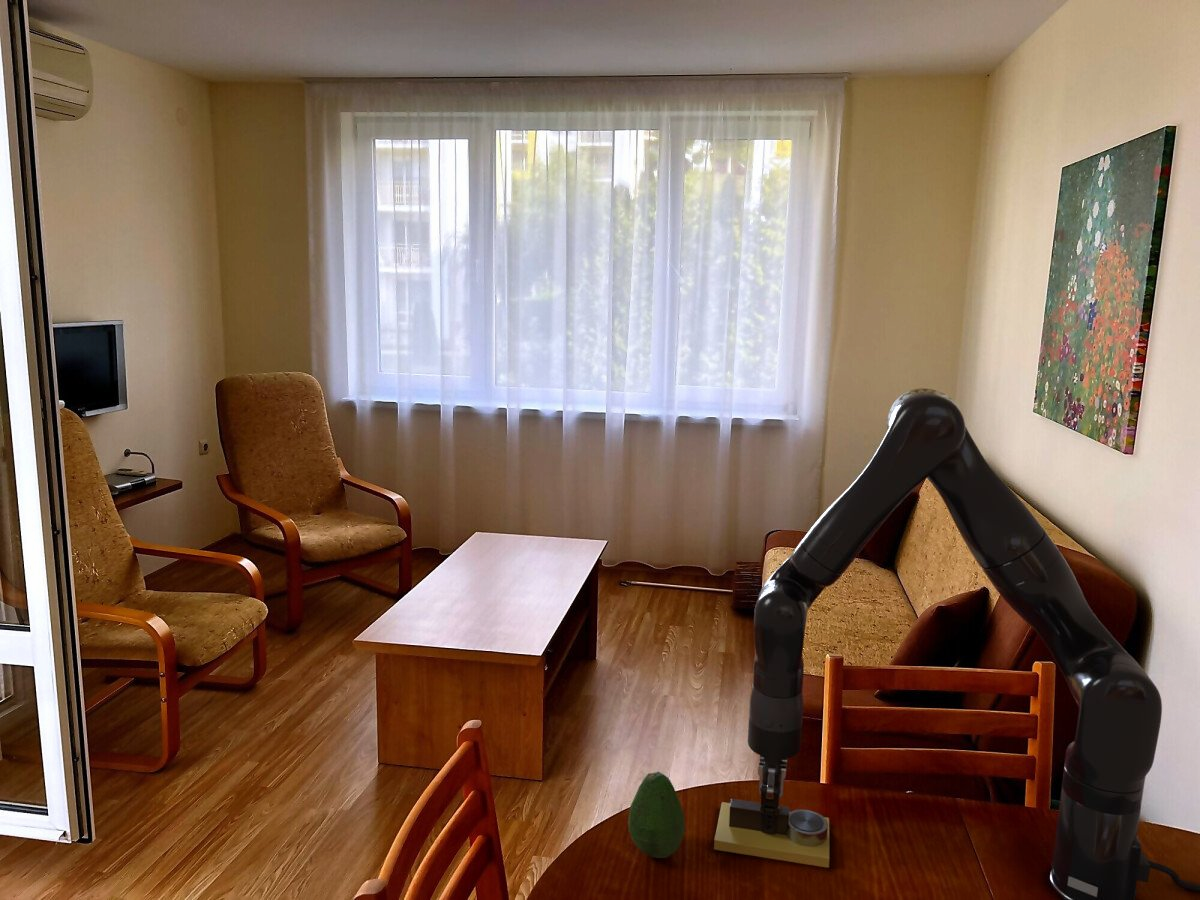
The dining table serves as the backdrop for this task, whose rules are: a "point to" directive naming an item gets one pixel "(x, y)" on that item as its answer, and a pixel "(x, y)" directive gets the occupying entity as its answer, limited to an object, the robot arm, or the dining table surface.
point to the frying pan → (781, 822)
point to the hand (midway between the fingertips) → (769, 825)
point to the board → (767, 843)
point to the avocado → (656, 817)
